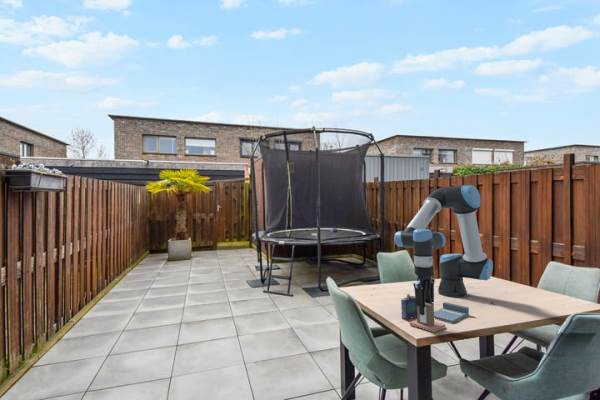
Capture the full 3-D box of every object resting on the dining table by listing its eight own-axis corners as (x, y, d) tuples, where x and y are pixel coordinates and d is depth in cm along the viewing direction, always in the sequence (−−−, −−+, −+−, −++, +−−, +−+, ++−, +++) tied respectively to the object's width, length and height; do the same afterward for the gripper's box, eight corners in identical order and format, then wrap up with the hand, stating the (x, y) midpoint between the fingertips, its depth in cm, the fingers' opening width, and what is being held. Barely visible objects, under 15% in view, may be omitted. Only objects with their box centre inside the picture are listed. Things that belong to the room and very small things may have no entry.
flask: (404, 320, 137) (403, 296, 138) (399, 318, 140) (398, 294, 140) (419, 316, 141) (418, 293, 142) (414, 314, 144) (413, 291, 145)
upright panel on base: (409, 325, 130) (408, 302, 131) (420, 320, 136) (420, 298, 136) (434, 332, 122) (433, 308, 122) (445, 326, 127) (444, 303, 128)
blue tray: (428, 317, 140) (428, 309, 140) (445, 309, 150) (445, 302, 150) (452, 323, 132) (452, 315, 132) (468, 315, 142) (468, 307, 142)
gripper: (421, 269, 121) (424, 328, 120) (441, 264, 131) (443, 319, 130) (405, 267, 127) (407, 323, 126) (425, 262, 137) (427, 314, 136)
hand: (425, 321), depth 128 cm, fingers closed on upright panel on base, 3 cm apart
